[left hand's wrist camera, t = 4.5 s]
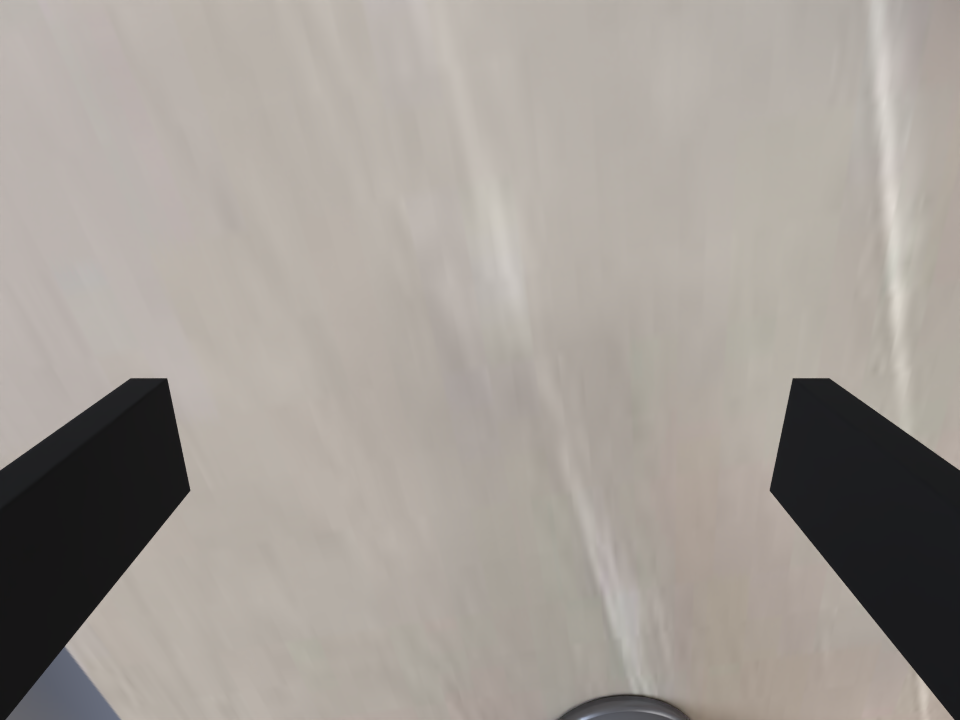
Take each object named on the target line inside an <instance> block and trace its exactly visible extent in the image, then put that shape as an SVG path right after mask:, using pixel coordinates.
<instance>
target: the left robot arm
mask: <svg viewBox="0 0 960 720" xmlns="http://www.w3.org/2000/svg"><path fill="white" fill-rule="evenodd" d="M189 492H190V486H189V482H188V477H187V472H186V467H185V462H184V457H183V453H182V448H181V443H180V438H179V433H178V428H177V424H176V419H175V414H174V409H173V404H172V399H171V395H170V390H169V385H168V380H167V378H130V379H129V380H128V381H126V382H125V383H123V384H122V385H121V386H119V387H118V388H116V389H115V390H114V391H112V392H111V393H109V394H108V395H106V396H105V397H104V398H102V399H101V400H99V401H98V402H97V403H95V404H94V405H92V406H91V407H89V408H88V409H87V410H85V411H84V412H82V413H81V414H80V415H78V416H77V417H75V418H74V419H72V420H71V421H70V422H68V423H67V424H65V425H64V426H63V427H61V428H60V429H58V430H57V431H55V432H54V433H53V434H51V435H50V436H48V437H47V438H46V439H44V440H43V441H41V442H40V443H39V444H37V445H36V446H34V447H33V448H31V449H30V450H29V451H27V452H26V453H24V454H23V455H22V456H20V457H19V458H17V459H16V460H14V461H13V462H12V463H10V464H9V465H7V466H6V467H5V468H3V469H2V470H0V720H5V719H6V718H7V717H8V716H9V715H10V713H11V712H12V711H13V710H14V708H15V707H16V706H17V705H18V703H19V702H20V701H21V700H22V699H23V697H24V696H25V695H26V694H27V692H28V691H29V690H30V689H31V687H32V686H33V685H34V684H35V682H36V681H37V680H38V679H39V678H40V676H41V675H42V674H43V673H44V671H45V670H46V669H47V668H48V666H49V665H50V664H51V663H52V661H53V660H54V659H55V658H56V656H57V655H58V654H59V653H60V651H61V650H62V649H63V648H64V647H65V645H66V644H67V643H68V642H69V640H70V639H71V638H72V637H73V635H74V634H75V633H76V632H77V630H78V629H79V628H80V627H81V625H82V624H83V623H84V622H85V620H86V619H87V618H88V617H89V616H90V614H91V613H92V612H93V611H94V609H95V608H96V607H97V606H98V604H99V603H100V602H101V601H102V599H103V598H104V597H105V596H106V594H107V593H108V592H109V591H110V590H111V588H112V587H113V586H114V585H115V583H116V582H117V581H118V580H119V578H120V577H121V576H122V575H123V573H124V572H125V571H126V570H127V568H128V567H129V566H130V565H131V563H132V562H133V561H134V560H135V559H136V557H137V556H138V555H139V554H140V552H141V551H142V550H143V549H144V547H145V546H146V545H147V544H148V542H149V541H150V540H151V539H152V537H153V536H154V535H155V534H156V532H157V531H158V530H159V529H160V528H161V526H162V525H163V524H164V523H165V521H166V520H167V519H168V518H169V516H170V515H171V514H172V513H173V511H174V510H175V509H176V508H177V506H178V505H179V504H180V503H181V502H182V500H183V499H184V498H185V497H186V495H187V494H188V493H189ZM770 492H771V493H772V494H773V495H774V497H775V498H776V499H777V500H778V502H779V503H780V504H781V505H782V506H783V508H784V509H785V510H786V511H787V513H788V514H789V515H790V516H791V518H792V519H793V520H794V521H795V523H796V524H797V525H798V526H799V528H800V529H801V530H802V531H803V533H804V534H805V535H806V536H807V537H808V539H809V540H810V541H811V542H812V544H813V545H814V546H815V547H816V549H817V550H818V551H819V552H820V554H821V555H822V556H823V557H824V559H825V560H826V561H827V562H828V563H829V565H830V566H831V567H832V568H833V570H834V571H835V572H836V573H837V575H838V576H839V577H840V578H841V580H842V581H843V582H844V583H845V585H846V586H847V587H848V588H849V590H850V591H851V592H852V593H853V594H854V596H855V597H856V598H857V599H858V601H859V602H860V603H861V604H862V606H863V607H864V608H865V609H866V611H867V612H868V613H869V614H870V616H871V617H872V618H873V619H874V620H875V622H876V623H877V624H878V625H879V627H880V628H881V629H882V630H883V632H884V633H885V634H886V635H887V637H888V638H889V639H890V640H891V642H892V643H893V644H894V645H895V647H896V648H897V649H898V650H899V651H900V653H901V654H902V655H903V656H904V658H905V659H906V660H907V661H908V663H909V664H910V665H911V666H912V668H913V669H914V670H915V671H916V673H917V674H918V675H919V676H920V678H921V679H922V680H923V681H924V682H925V684H926V685H927V686H928V687H929V689H930V690H931V691H932V692H933V694H934V695H935V696H936V697H937V699H938V700H939V701H940V702H941V704H942V705H943V706H944V707H945V708H946V710H947V711H948V712H949V713H950V715H951V716H952V717H953V718H954V720H960V470H958V469H957V468H955V467H954V466H953V465H951V464H950V463H948V462H947V461H946V460H944V459H943V458H941V457H940V456H938V455H937V454H936V453H934V452H933V451H931V450H930V449H929V448H927V447H926V446H924V445H923V444H921V443H920V442H919V441H917V440H916V439H914V438H913V437H912V436H910V435H909V434H907V433H906V432H905V431H903V430H902V429H900V428H899V427H897V426H896V425H895V424H893V423H892V422H890V421H889V420H888V419H886V418H885V417H883V416H882V415H880V414H879V413H878V412H876V411H875V410H873V409H872V408H871V407H869V406H868V405H866V404H865V403H863V402H862V401H861V400H859V399H858V398H856V397H855V396H854V395H852V394H851V393H849V392H848V391H846V390H845V389H844V388H842V387H841V386H839V385H838V384H837V383H835V382H834V381H832V380H831V379H829V378H793V380H792V385H791V390H790V395H789V399H788V404H787V409H786V414H785V419H784V424H783V428H782V433H781V438H780V443H779V448H778V453H777V457H776V462H775V467H774V472H773V477H772V482H771V486H770ZM559 720H690V719H689V718H688V717H687V716H686V715H685V714H684V713H682V712H681V711H680V710H678V709H677V708H675V707H673V706H671V705H669V704H667V703H665V702H662V701H659V700H655V699H652V698H646V697H639V696H615V697H608V698H602V699H598V700H594V701H591V702H588V703H586V704H583V705H581V706H579V707H577V708H575V709H573V710H571V711H570V712H568V713H566V714H565V715H564V716H562V717H561V718H560V719H559Z"/></svg>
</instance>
